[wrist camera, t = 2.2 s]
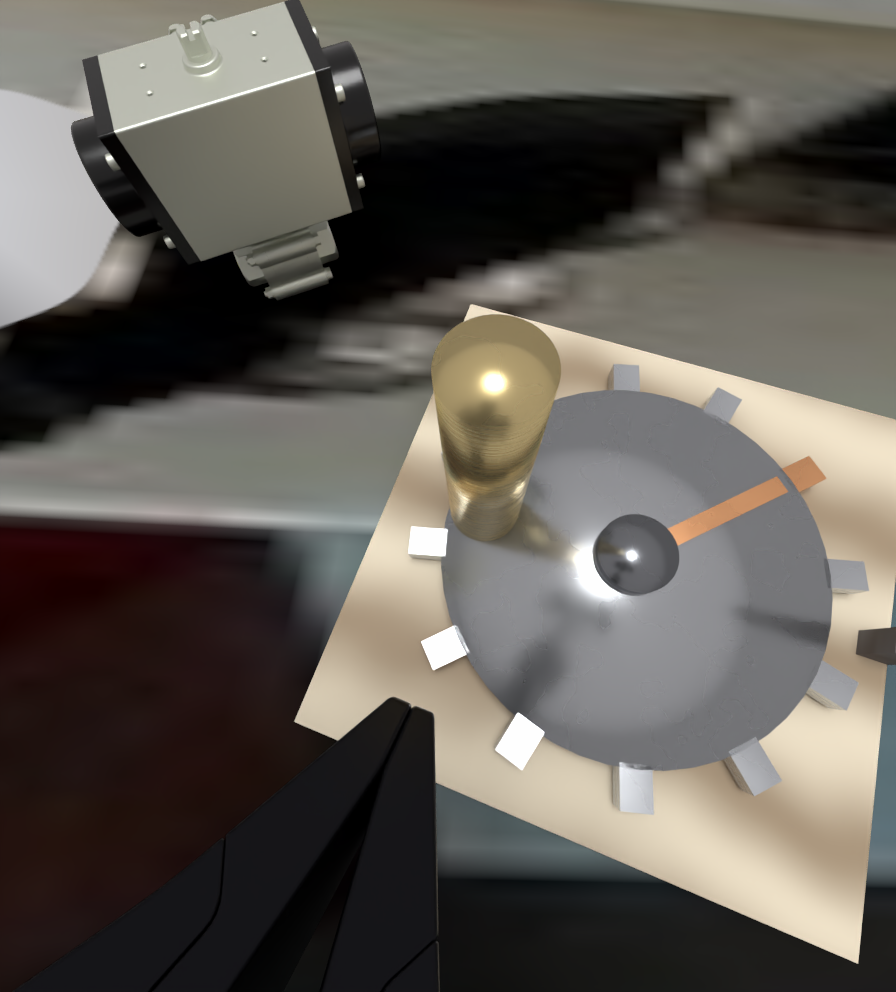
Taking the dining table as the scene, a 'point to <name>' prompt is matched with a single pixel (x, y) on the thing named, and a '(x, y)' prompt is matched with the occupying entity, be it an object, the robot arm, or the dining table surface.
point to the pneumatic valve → (233, 142)
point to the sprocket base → (677, 793)
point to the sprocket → (624, 566)
